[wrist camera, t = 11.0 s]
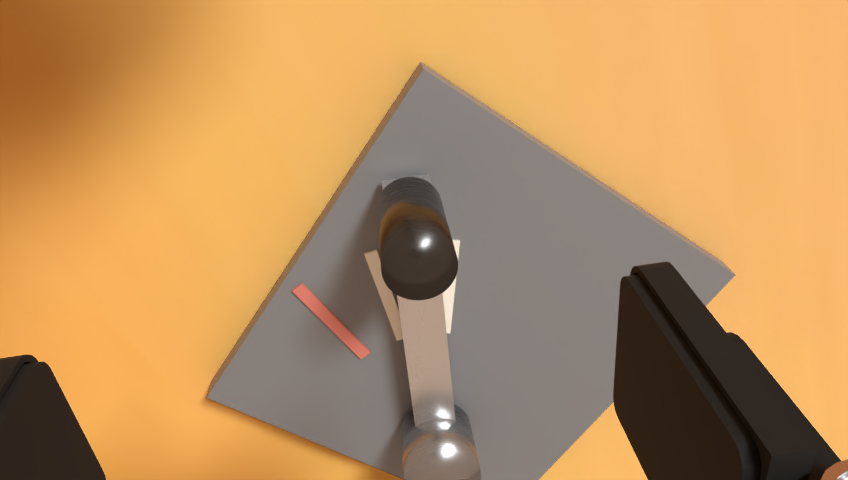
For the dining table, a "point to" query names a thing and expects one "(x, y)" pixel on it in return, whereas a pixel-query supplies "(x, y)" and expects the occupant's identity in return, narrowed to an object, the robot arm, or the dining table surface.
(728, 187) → the dining table surface
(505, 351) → the board
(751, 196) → the dining table surface
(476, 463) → the swing lever
